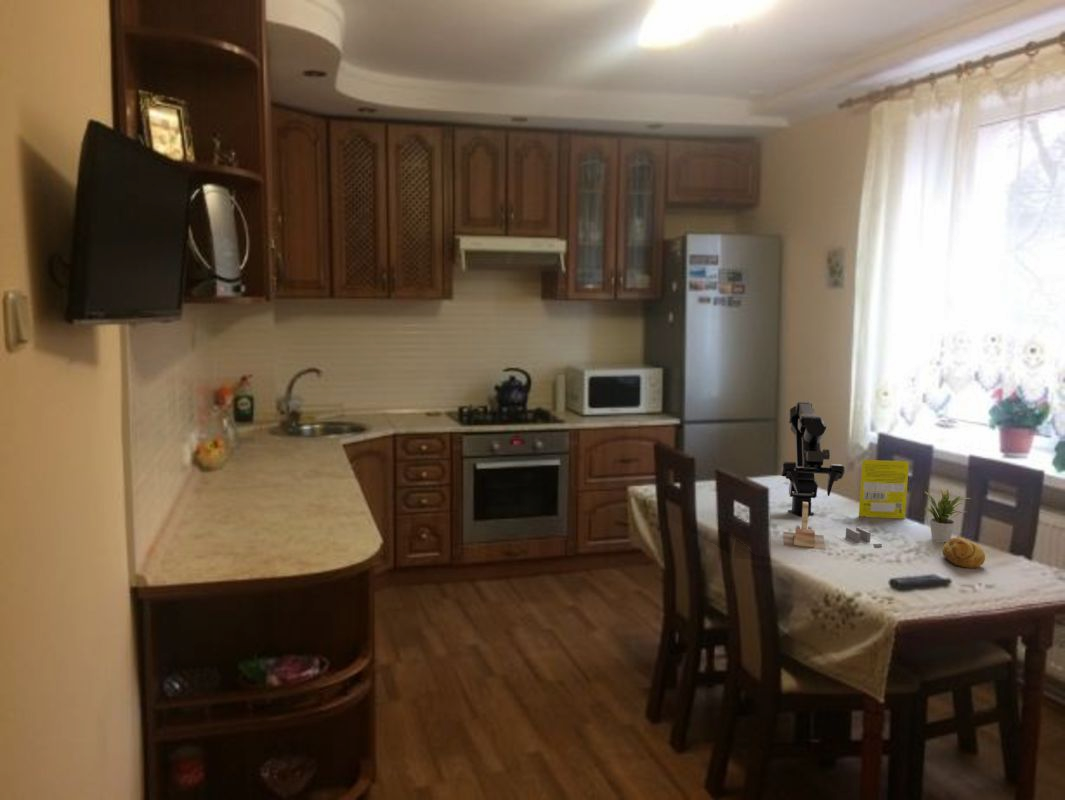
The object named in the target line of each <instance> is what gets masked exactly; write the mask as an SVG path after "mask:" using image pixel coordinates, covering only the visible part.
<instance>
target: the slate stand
mask: <svg viewBox="0 0 1065 800" xmlns="http://www.w3.org/2000/svg"><path fill="white" fill-rule="evenodd" d="M871 533H872V532H871V531H868V530H867V529H864V528H863V527H860V526H856V528H855V529H853V528H851V527H846V528H845V534H840V535H837V534H836V535H835V534H834V537H835V538H838V539H839V540H842V541H844V542H845V543H848V545H851V546H864V545H873V547H874V548H880V547H881V548H882V547H883V543H882V542H880V541H878V540H876V539H874V538H872V537H871Z"/></svg>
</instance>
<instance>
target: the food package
mask: <svg viewBox="0 0 1065 800" xmlns="http://www.w3.org/2000/svg"><path fill="white" fill-rule="evenodd" d="M909 465H910V461H908V460H905V461H904V460H879V459H878V460H877V459H876V460H875V459H873V460H872V459H862V461H861V475H860V476H861V478H860V491H859V492H860V494H859V506H858V517H859V516H868V517H867V518H877V517H883V518H884V519H906V506H907V494H908V484H909V483H908V481H909V479H908V478H909V469H910V466H909ZM885 517H886V518H885ZM883 518H882V519H883Z"/></svg>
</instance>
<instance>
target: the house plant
mask: <svg viewBox="0 0 1065 800" xmlns="http://www.w3.org/2000/svg"><path fill="white" fill-rule="evenodd" d="M939 490H940V492H941V495H942V496H941V499H940V500H938V502H937V503H936V500H935V499H934V497H933V496H931V494H929V493H928V492H927V491H923V492H924V493H925V494H926V495H927V496H926V498H927V499H928V500H929V502H930V507H929V508H928V507H925V509H924V511H928V512H930V513H931V514H932V515H933V517H931V518H930V519H929V522H930V533H931V540H932V539H933V540H932V541H934V540H935V541H934V542H937V541H938V543H944V542H947V541H948V540H949V539H952V535H953V531H954V529H955V525H956V522H955V521H954V520H952V519H953V518H954V517H956V516H957V515H959V514H963V515H965V513H967V511H964V510H963V511H959V510H958V511H957V510H956V507H958V506H959V505H961V504H962V502H960V501H963V500H965V499H968V500H971V499H972V500H973V498H971V497H963V496H965V494H961V495H958V496H957V497H955V498H954V499H951V500H950V493H949V490H948V489H946V491H944V492H943V491H942V489H941V488H940V489H939ZM958 502H959V503H958ZM955 513H957V514H956V515H954V516H953V517H951V516H952V515H953V514H955ZM949 517H951V518H950V519H949Z"/></svg>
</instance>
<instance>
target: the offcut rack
mask: <svg viewBox="0 0 1065 800" xmlns="http://www.w3.org/2000/svg"><path fill="white" fill-rule="evenodd" d="M795 527H796V528H799V529H801V526H800V525H796V526H795ZM796 528H795V529H796ZM807 529H811V530H813V528H812V526H808V525H807ZM782 532H783V534H782V535H783V546H784V547H791V548H792V547H795V548H805V549H817V550H824V551H825V550H827V548H826V543H825V538H824V535H822V534H815V539H816V542H815V547H810V546H799V545H794V534H795V533H796V532H790V531H782Z"/></svg>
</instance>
